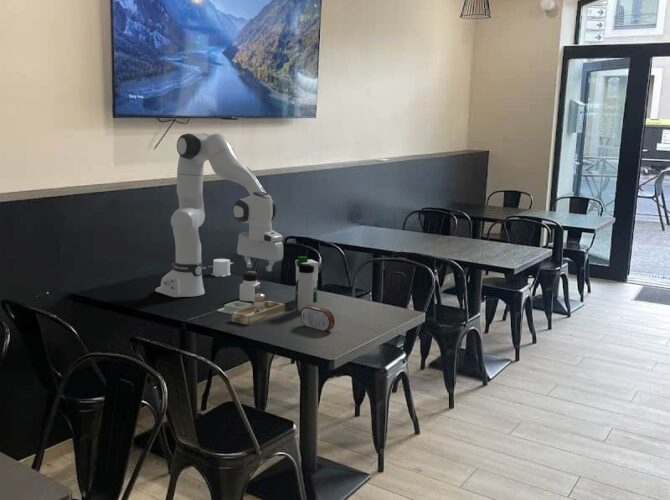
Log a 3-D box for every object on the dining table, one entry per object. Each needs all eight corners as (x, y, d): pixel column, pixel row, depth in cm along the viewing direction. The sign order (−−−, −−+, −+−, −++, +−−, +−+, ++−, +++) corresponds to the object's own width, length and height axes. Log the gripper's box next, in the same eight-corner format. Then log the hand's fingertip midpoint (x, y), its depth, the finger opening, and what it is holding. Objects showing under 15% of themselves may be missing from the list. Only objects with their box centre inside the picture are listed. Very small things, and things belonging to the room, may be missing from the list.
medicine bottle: (255, 302, 297) (255, 274, 295) (239, 300, 298) (239, 273, 296) (260, 298, 304) (260, 271, 302) (244, 296, 305) (245, 270, 303)
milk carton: (292, 300, 302) (293, 255, 298) (311, 298, 306) (312, 254, 303) (300, 305, 294) (302, 259, 291) (319, 303, 298) (321, 257, 295)
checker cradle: (217, 311, 280) (217, 304, 280) (235, 305, 291) (235, 299, 290) (240, 316, 274) (240, 309, 274) (259, 310, 285) (259, 303, 284)
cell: (251, 314, 274) (252, 294, 273) (258, 312, 277) (258, 292, 276) (260, 316, 272) (260, 296, 271) (266, 314, 275) (266, 294, 274)
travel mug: (293, 310, 285) (295, 263, 282) (306, 308, 290) (307, 261, 286) (303, 314, 281) (304, 265, 277) (315, 312, 285) (317, 264, 281)
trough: (231, 321, 267) (231, 312, 267) (267, 308, 287) (267, 300, 286) (250, 325, 263) (250, 316, 262) (285, 312, 282) (285, 304, 282)
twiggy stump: (249, 277, 346) (249, 261, 345) (216, 282, 333) (216, 265, 331) (225, 270, 360) (226, 254, 359) (193, 274, 347) (193, 258, 346)
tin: (334, 332, 258) (335, 310, 257) (329, 334, 256) (330, 312, 254) (304, 324, 267) (304, 302, 266) (298, 325, 265) (299, 304, 263)
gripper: (234, 231, 272) (233, 266, 274) (276, 238, 261) (275, 274, 264) (244, 230, 277) (243, 264, 279) (286, 236, 267) (284, 271, 269)
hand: (259, 269), depth 271 cm, fingers open, 8 cm apart
